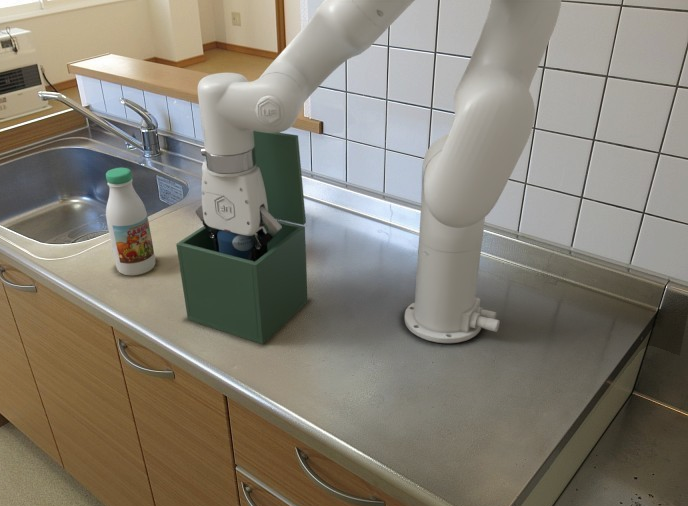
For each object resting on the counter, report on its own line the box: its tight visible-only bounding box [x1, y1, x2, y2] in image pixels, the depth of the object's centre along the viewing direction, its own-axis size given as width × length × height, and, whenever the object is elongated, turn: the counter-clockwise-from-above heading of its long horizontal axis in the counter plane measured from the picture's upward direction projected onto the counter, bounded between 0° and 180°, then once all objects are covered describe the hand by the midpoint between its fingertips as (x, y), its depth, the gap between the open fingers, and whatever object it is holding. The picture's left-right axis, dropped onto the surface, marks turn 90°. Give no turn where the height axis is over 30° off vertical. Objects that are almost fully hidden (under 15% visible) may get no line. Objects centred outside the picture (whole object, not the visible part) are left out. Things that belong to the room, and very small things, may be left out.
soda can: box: [217, 229, 261, 261], centre depth 111 cm, size 7×7×12 cm
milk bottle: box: [105, 167, 156, 276], centre depth 128 cm, size 8×8×20 cm
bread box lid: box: [253, 130, 307, 226], centre depth 110 cm, size 15×16×1 cm
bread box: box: [175, 220, 309, 345], centre depth 113 cm, size 15×16×15 cm
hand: (241, 261), depth 111 cm, fingers closed on soda can, 7 cm apart
